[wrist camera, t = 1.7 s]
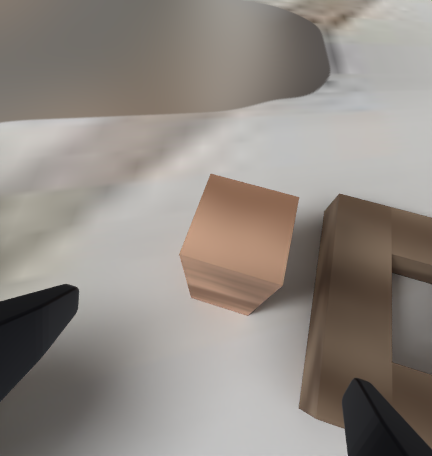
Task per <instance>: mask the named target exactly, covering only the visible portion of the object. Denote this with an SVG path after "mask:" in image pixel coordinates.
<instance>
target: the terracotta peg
mask: <svg viewBox="0 0 432 456" xmlns="http://www.w3.org/2000/svg"><path fill="white" fill-rule="evenodd" d="M298 201H299V197H296V196H292V195H289V194H285V193H281V192H277V191H274V190H270V189H266V188H262V187H259V186H255V185H251V184H247V183H244V182H240V181H236V180H232V179H229V178H225V177H221V176H217V175H214V174H210V177H209V179H208V182H207V185H206V187H205V190H204V192H203V195H202V197H201V200H200V202H199V205H198V208H197V210H196V213H195V215H194V218H193V220H192V223H191V226H190V228H189V231H188V233H187V236H186V238H185V241H184V244H183V246H182V249H181V251H180V254H179V255H180V259H181V262H182V266H183V269H184V273H185V277H186V280H187V284H188V288H189V291H190V295H191V298H194V299H197V300H200V301H203V302H206V303H209V304H213V305H216V306H219V307H222V308H225V309H228V310H231V311H235V312H238V313H241V314H244V315H247V316H248V315H249V314H250V313H251V312H253V311H254V310H255V309H256V308H257V307H258V306H260V305H261V304H262V303H263V302H264V301H265V300H267V299H268V298H269V297H270V296H271V295H272V294H273V293H275V292H276V291H277V290H278V289H279V288H280V287H282V286H283V281H284V276H285V270H286V265H287V260H288V254H289V249H290V244H291V238H292V233H293V228H294V222H295V217H296V211H297V206H298Z"/></svg>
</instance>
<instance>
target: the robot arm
mask: <svg viewBox="0 0 432 456" xmlns="http://www.w3.org/2000/svg"><path fill="white" fill-rule="evenodd" d="M78 301H79V289H78V288H77V287H75V286H72V285H69V284H63V285H59V286H56V287H52V288H48V289H45V290H41V291H37V292H33V293H30V294H26V295H22V296H19V297H15V298H11V299H7V300H4V301H0V402H1V400H2V399H3V398H4V397H5V396H6V395H7V394H8V393H9V392H10V391H11V390H12V389H13V388H14V387H15V385H16V384H17V383H18V382H19V381H20V380H21V379H22V378H23V377H24V376H25V375H26V374H27V373H28V372H29V370H30V369H31V368H32V367H33V366H34V365H35V364H36V363H37V362H38V361H39V360H40V359H41V357H42V356H43V355H44V354H45V353H46V351H47V350H48V349H49V348H50V346H51V345H52V344H53V343H54V341H55V340H56V339H57V337H58V336H59V335H60V334H61V332H62V331H63V330H64V328H65V327H66V326H67V325H68V323H69V322H70V321H71V319H72V318H73V317H74V316H75V314H76V312H77V310H78ZM342 410H343V418H344V427H345V435H346V443H347V452H348V456H432V449H431V448H430V447H429V446H428V444H427V443H426V442H425V441H424V440H423V439H422V438H421V437H420V436H419V435H418V434H417V433H416V431H415V430H414V429H413V428H412V427H411V426H410V425H409V424H408V423H407V422H406V421H405V419H404V418H403V417H402V416H401V415H400V414H399V413H398V412H397V411H396V410H395V409H394V408H393V406H392V405H391V404H390V403H389V402H388V401H387V400H386V399H385V398H384V397H383V396H382V395H381V393H380V392H379V391H378V390H377V389H376V388H375V387H374V386H373V385H372V384H371V383H370V382H368V381H366V380H363V379H360V378H354V379H352V381H351V382H350V384H349V386H348V388H347V389H346V391H345V393H344V395H343V397H342Z"/></svg>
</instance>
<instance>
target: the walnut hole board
mask: <svg viewBox="0 0 432 456" xmlns="http://www.w3.org/2000/svg"><path fill="white" fill-rule="evenodd" d="M392 273H395V274H398V275H402V276H405V277H409V278H412V279H416V280H419V281H423V282H426V283H430V284H432V218H431V217H427V216H423V215H419V214H415V213H411V212H408V211H404V210H400V209H396V208H392V207H389V206H385V205H381V204H377V203H373V202H369V201H366V200H362V199H358V198H354V197H350V196H347V195H343V194H339V195H338V196H337V197H336V198H335V199H334V201H333V202H332V203H331V204H330V205H329V206H328V208H327V209H326V210H325V211H324V218H323V226H322V233H321V241H320V249H319V256H318V264H317V272H316V279H315V287H314V295H313V303H312V310H311V318H310V326H309V333H308V341H307V349H306V356H305V364H304V372H303V379H302V387H301V395H300V402H299V409H301V410H303V411H304V412H306V413H307V414H309V415H311V416H312V417H314V418H315V419H318V420H321V421H324V422H326V423H329V424H332V425H335V426H338V427H341V428H344V429H345V427H344V418H343V410H342V397H343V395H344V393H345V391H346V389H347V388H348V386H349V384H350V382H351V381H352V379H354V378H360V379H363V380H366V381H368V382H370V383H371V384H372V385H373V386H374V387H375V388H376V389H377V390H378V391H379V392H380V393H381V395H382V396H383V397H384V398H385V399H386V400H387V401H388V402H389V403H390V404H391V405H392V406H393V408H394V409H395V410H396V411H397V412H398V413H399V414H400V415H401V416H402V417H403V418H404V419H405V421H406V422H407V423H408V424H409V425H410V426H411V427H412V428H413V429H414V430H415V431H416V433H417V434H418V435H419V436H420V437H421V438H422V439H423V440H424V441H425V442H426V443H427V444H428V446H429V447H430V448H431V449H432V375H430V374H427V373H424V372H421V371H418V370H415V369H412V368H409V367H405V366H402V365H399V364H396V363H393V362H392Z"/></svg>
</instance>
